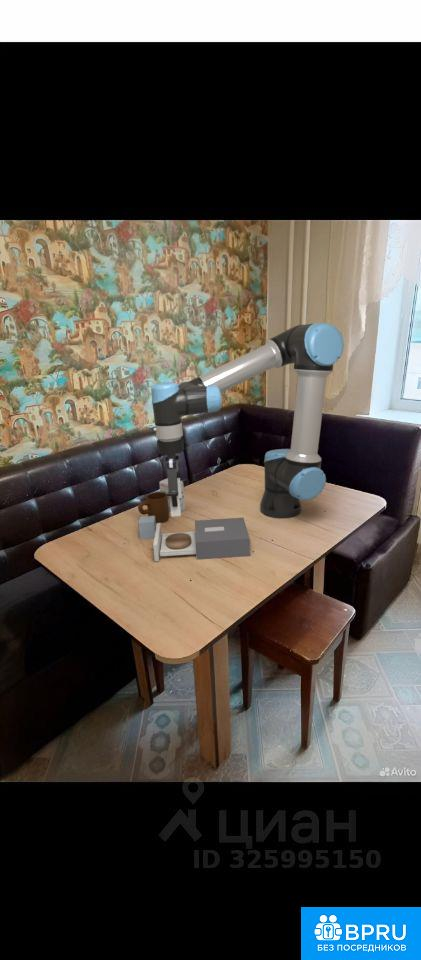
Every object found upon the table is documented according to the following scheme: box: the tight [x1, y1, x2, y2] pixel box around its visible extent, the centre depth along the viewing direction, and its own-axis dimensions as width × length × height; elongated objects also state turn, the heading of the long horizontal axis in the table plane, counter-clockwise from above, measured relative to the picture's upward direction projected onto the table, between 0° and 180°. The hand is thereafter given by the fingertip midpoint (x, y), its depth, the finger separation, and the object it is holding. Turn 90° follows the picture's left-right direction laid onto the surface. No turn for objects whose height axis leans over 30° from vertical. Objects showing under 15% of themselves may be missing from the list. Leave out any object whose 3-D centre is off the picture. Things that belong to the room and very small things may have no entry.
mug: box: [137, 491, 170, 524], centre depth 146 cm, size 12×8×9 cm, turn 134°
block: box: [138, 515, 157, 540], centre depth 136 cm, size 5×5×6 cm
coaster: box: [166, 532, 192, 550], centre depth 127 cm, size 8×8×2 cm
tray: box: [152, 523, 196, 562], centre depth 127 cm, size 16×15×6 cm
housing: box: [194, 517, 251, 561], centre depth 127 cm, size 16×15×6 cm
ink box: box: [159, 477, 186, 513], centre depth 155 cm, size 8×5×12 cm, turn 52°
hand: (177, 506), depth 123 cm, fingers open, 13 cm apart
